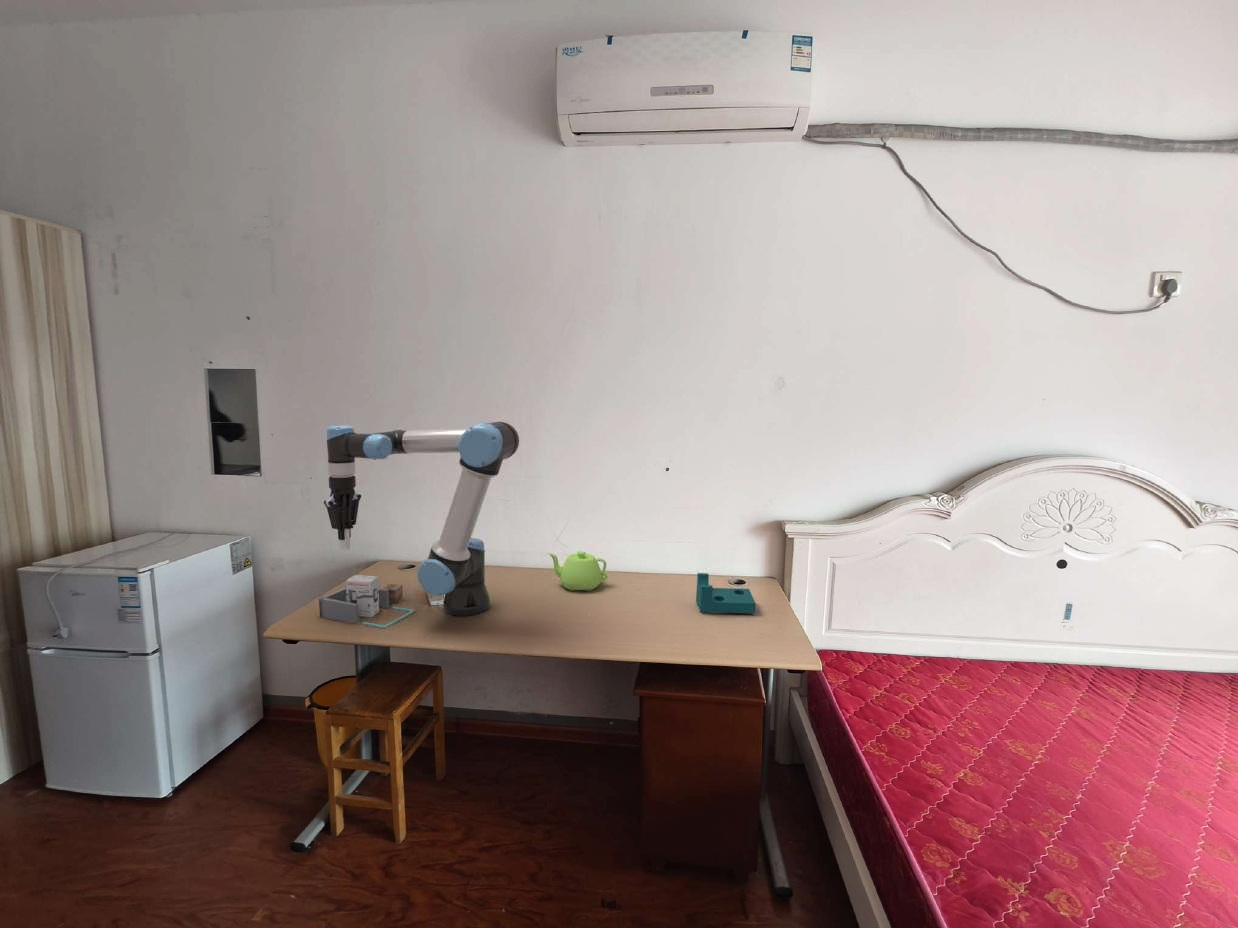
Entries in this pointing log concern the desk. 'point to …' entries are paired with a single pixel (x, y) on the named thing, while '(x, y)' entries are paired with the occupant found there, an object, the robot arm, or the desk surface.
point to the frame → (392, 621)
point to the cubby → (346, 606)
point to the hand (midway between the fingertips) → (345, 548)
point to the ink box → (363, 594)
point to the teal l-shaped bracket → (722, 598)
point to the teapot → (580, 571)
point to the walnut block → (394, 593)
